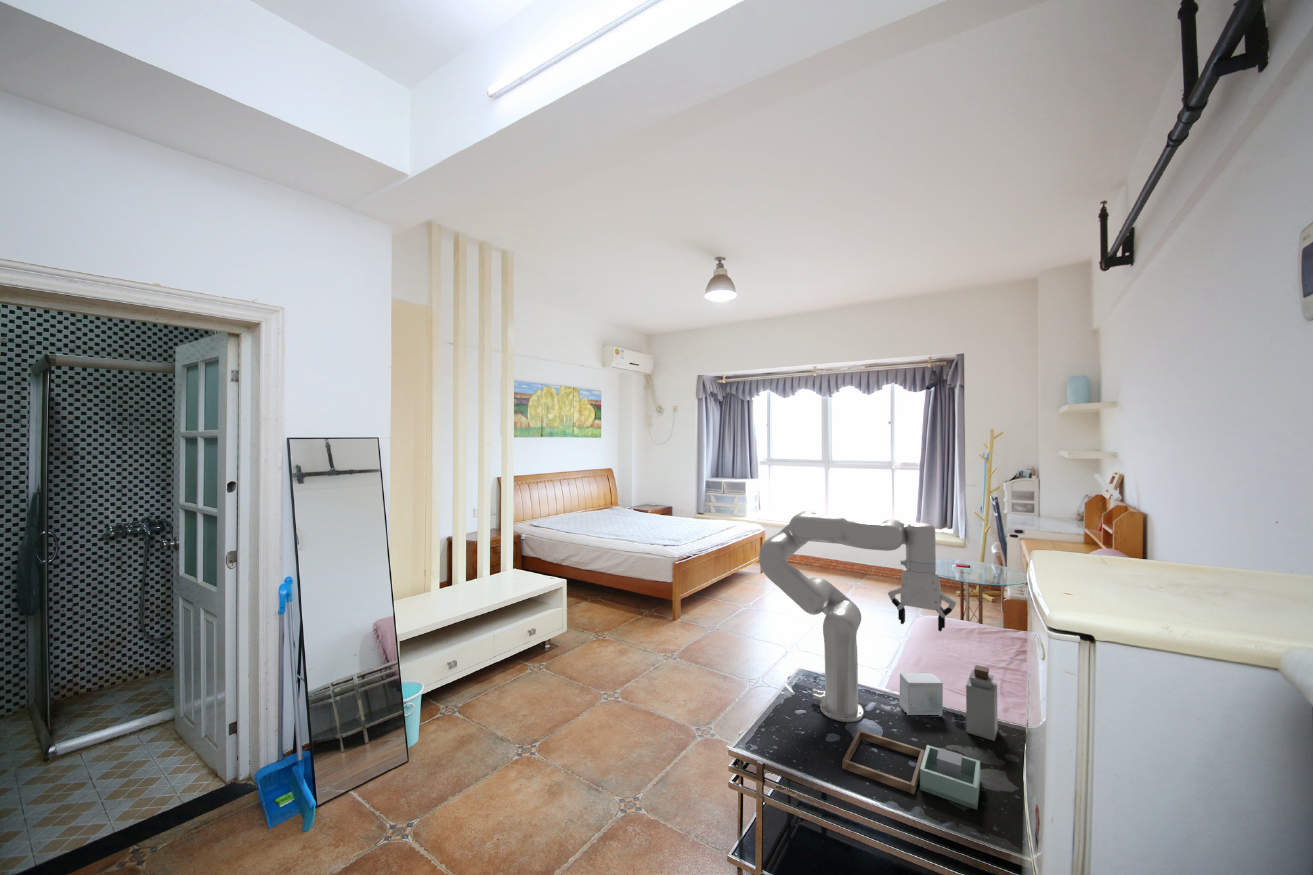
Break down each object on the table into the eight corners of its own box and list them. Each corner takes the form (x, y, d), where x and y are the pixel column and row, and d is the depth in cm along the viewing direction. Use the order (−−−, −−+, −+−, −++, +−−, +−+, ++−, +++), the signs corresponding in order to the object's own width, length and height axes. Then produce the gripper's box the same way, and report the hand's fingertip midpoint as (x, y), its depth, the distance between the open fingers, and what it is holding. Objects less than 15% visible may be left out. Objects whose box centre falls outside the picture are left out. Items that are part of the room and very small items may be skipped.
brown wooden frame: (842, 768, 130) (842, 760, 130) (858, 736, 143) (858, 729, 143) (914, 794, 120) (914, 785, 120) (924, 757, 134) (924, 750, 134)
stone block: (936, 782, 122) (936, 758, 122) (939, 771, 127) (939, 747, 127) (961, 791, 120) (960, 765, 120) (962, 779, 124) (962, 754, 124)
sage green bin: (920, 789, 122) (920, 768, 122) (927, 763, 131) (927, 744, 131) (977, 809, 115) (977, 787, 115) (980, 781, 124) (980, 760, 124)
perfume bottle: (970, 721, 150) (969, 661, 150) (997, 729, 146) (997, 667, 146) (966, 732, 145) (966, 669, 145) (994, 741, 141) (994, 676, 141)
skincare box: (908, 716, 153) (908, 682, 153) (899, 705, 160) (898, 672, 160) (943, 717, 153) (943, 682, 153) (932, 705, 159) (932, 672, 159)
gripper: (885, 565, 147) (886, 624, 147) (954, 574, 137) (954, 637, 137) (890, 559, 153) (891, 616, 153) (956, 568, 143) (957, 628, 143)
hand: (921, 626), depth 145 cm, fingers open, 9 cm apart
